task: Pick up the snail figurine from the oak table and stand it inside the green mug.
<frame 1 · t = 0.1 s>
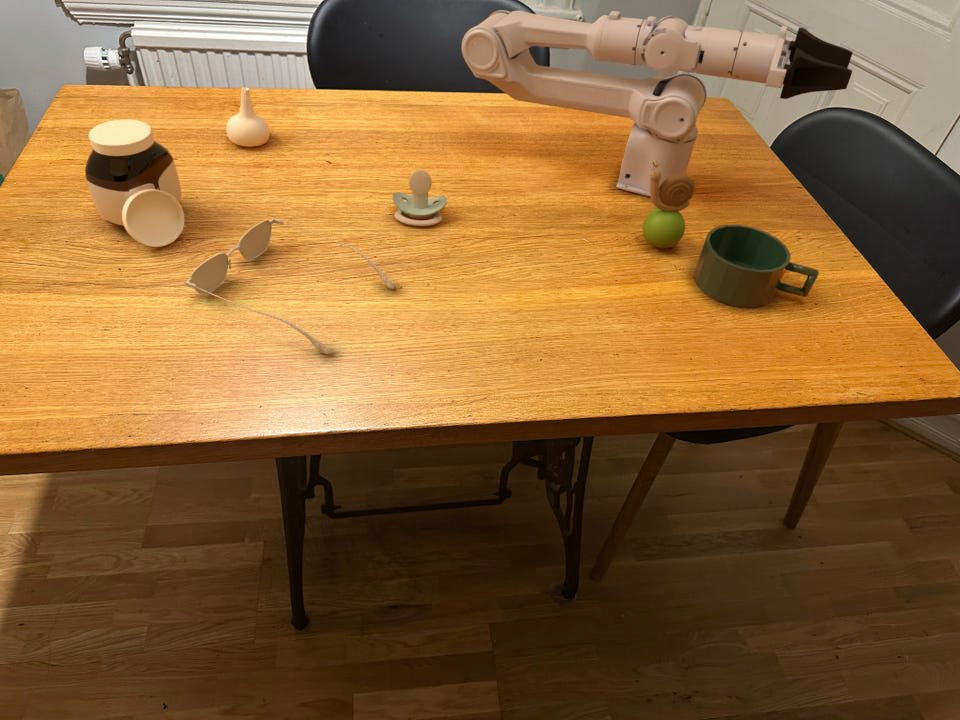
hand: (849, 69, 87), 22 cm above the table, tool horizontal, fingers open, 7 cm apart
garlic bulb: (250, 142, 107), on the table
spread jar: (152, 226, 89), on the table
eyeglasses: (297, 296, 81), on the table
green mug: (733, 283, 89), on the table
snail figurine: (654, 245, 94), on the table
pacifier: (418, 217, 95), on the table
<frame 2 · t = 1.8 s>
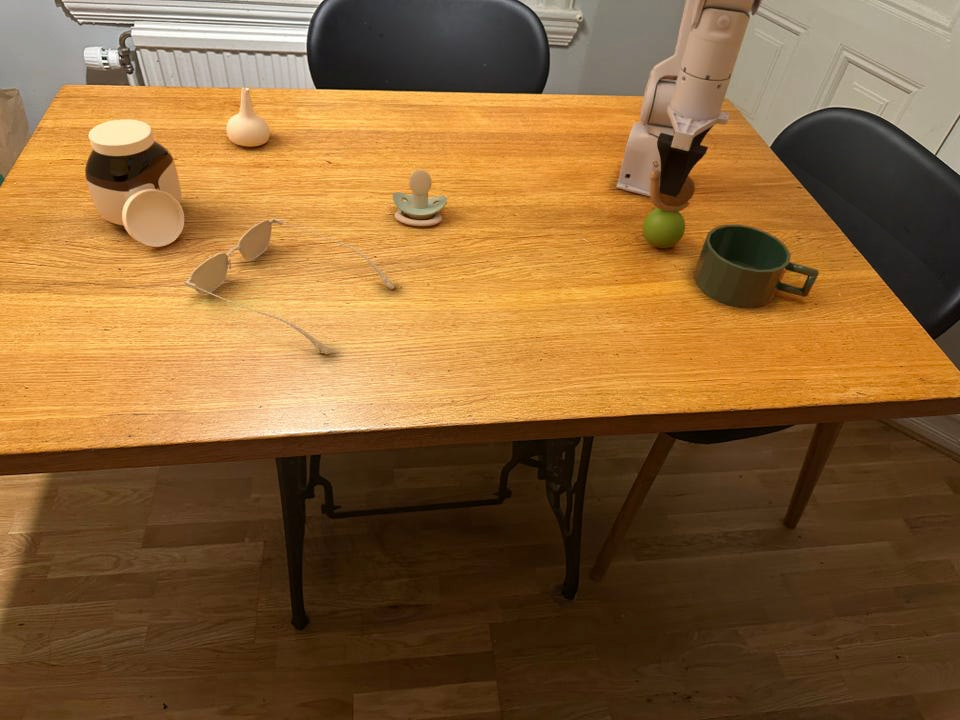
hand: (673, 180, 87), 10 cm above the table, tool pointing down, fingers open, 7 cm apart
nothing on the table moved.
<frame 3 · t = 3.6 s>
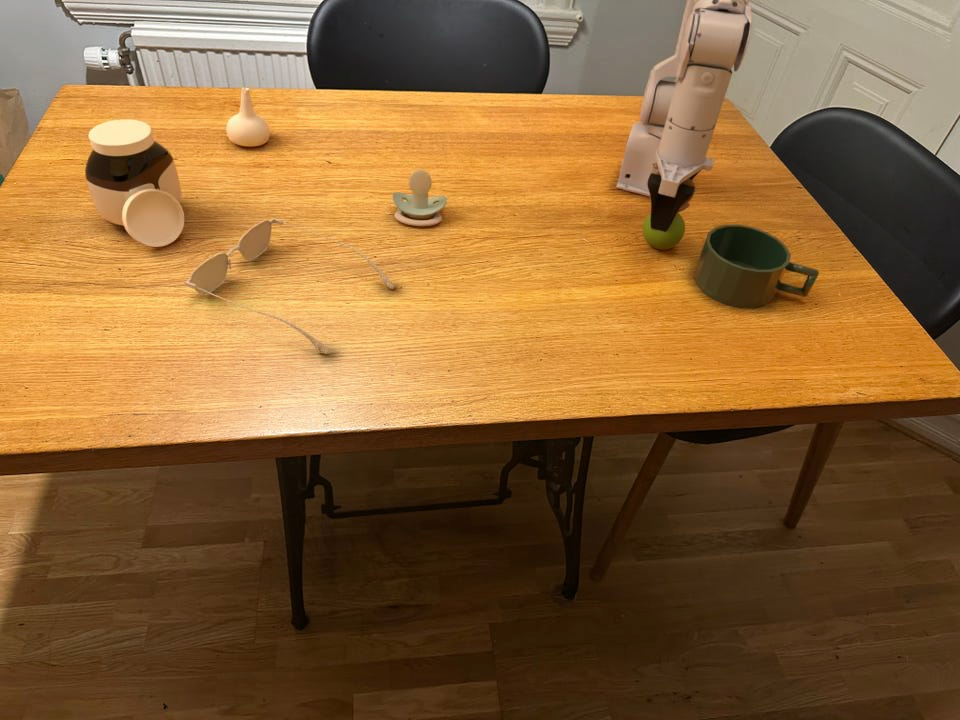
hand: (662, 219, 91), 4 cm above the table, tool pointing down, fingers closed on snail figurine, 4 cm apart
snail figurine: (654, 247, 94), on the table, touching gripper
everything else where it was.
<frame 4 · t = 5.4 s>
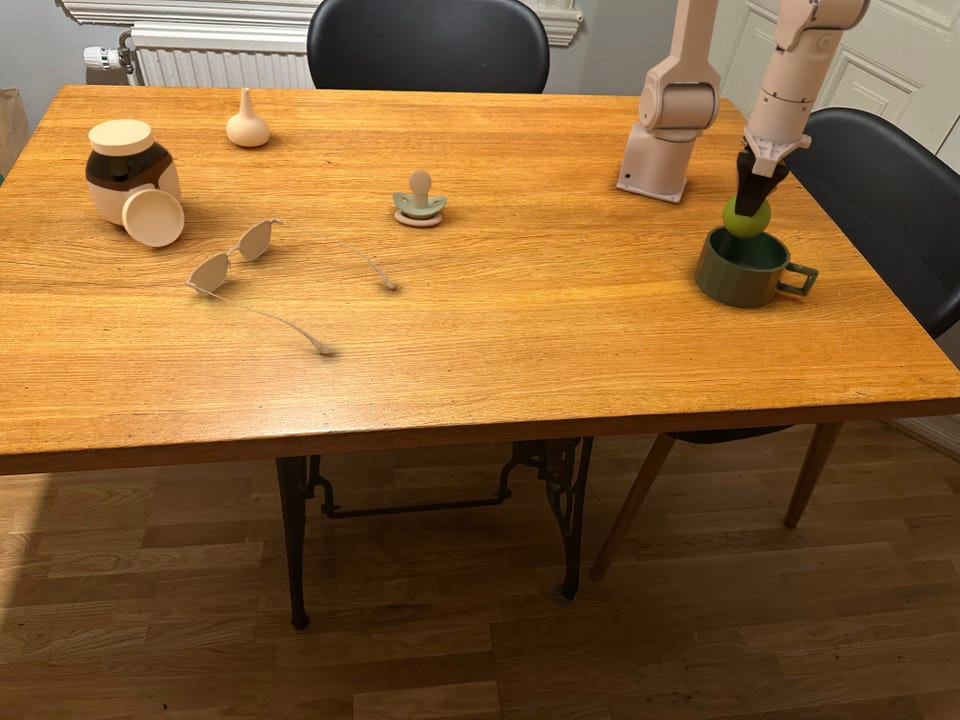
hand: (745, 205, 83), 10 cm above the table, tool pointing down, fingers closed on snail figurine, 4 cm apart
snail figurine: (734, 235, 85), point 6 cm above the table, touching gripper
everything else where it was.
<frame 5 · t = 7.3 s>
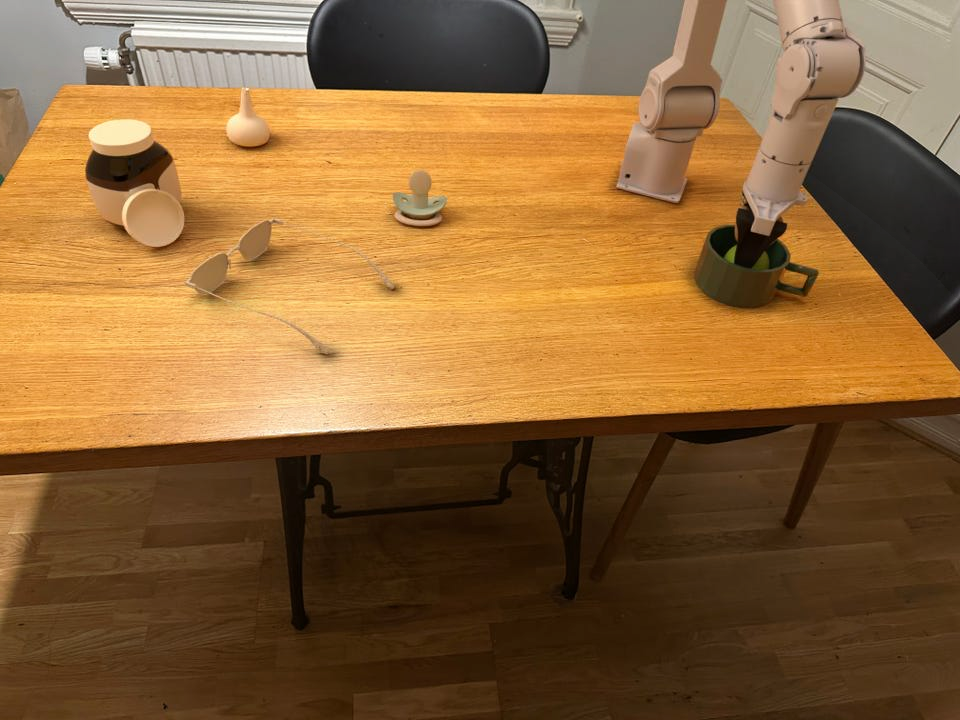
hand: (744, 255, 86), 4 cm above the table, tool pointing down, fingers closed on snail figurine, 4 cm apart
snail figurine: (734, 283, 88), resting on green mug, touching gripper
everything else where it was.
when the fingers open (4 cm above the table, at t = 7.6 s): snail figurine stays where it is, resting on green mug.
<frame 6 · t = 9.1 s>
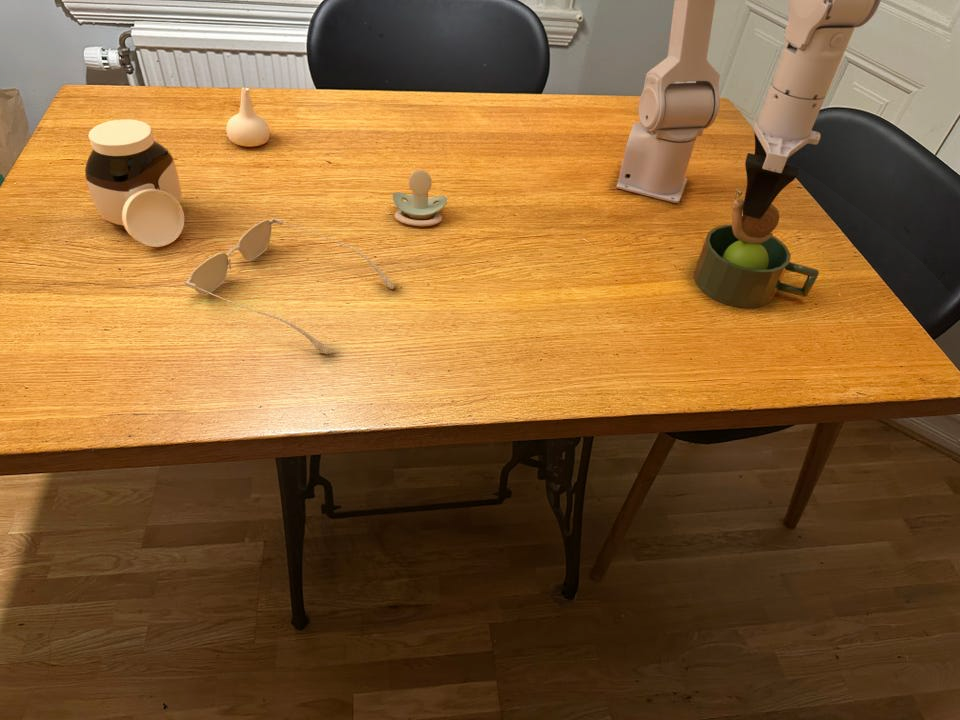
hand: (754, 200, 84), 10 cm above the table, tool pointing down, fingers open, 7 cm apart
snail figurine: (735, 282, 88), point 1 cm above the table, touching green mug
everything else where it was.
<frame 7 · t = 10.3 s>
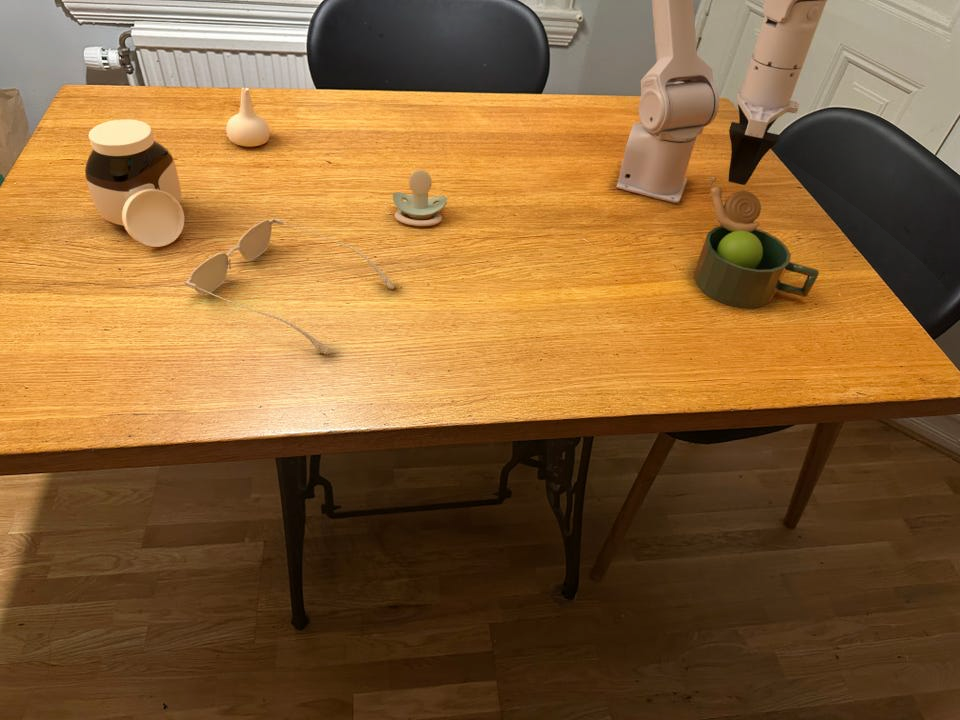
hand: (740, 169, 89), 10 cm above the table, tool pointing down, fingers open, 7 cm apart
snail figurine: (735, 276, 87), point 2 cm above the table, touching green mug
everything else where it was.
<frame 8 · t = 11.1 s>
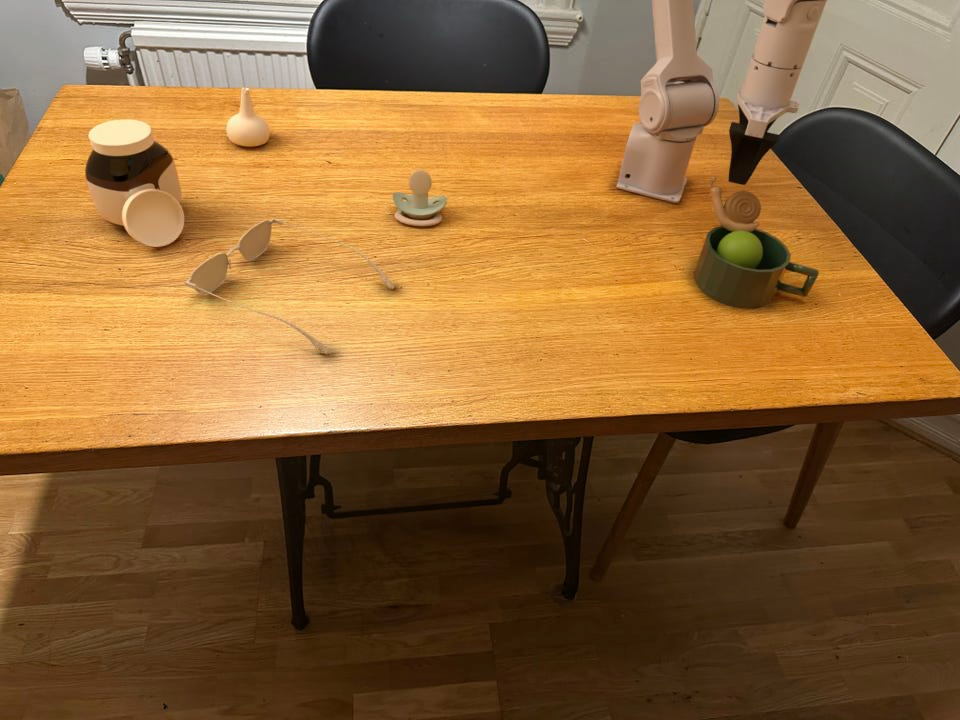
hand: (740, 169, 89), 10 cm above the table, tool pointing down, fingers open, 7 cm apart
nothing on the table moved.
at the end: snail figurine inside the target area in the green mug (1.1 cm from its centre), point 1.8 cm above the green mug's base; the gripper is holding nothing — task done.
